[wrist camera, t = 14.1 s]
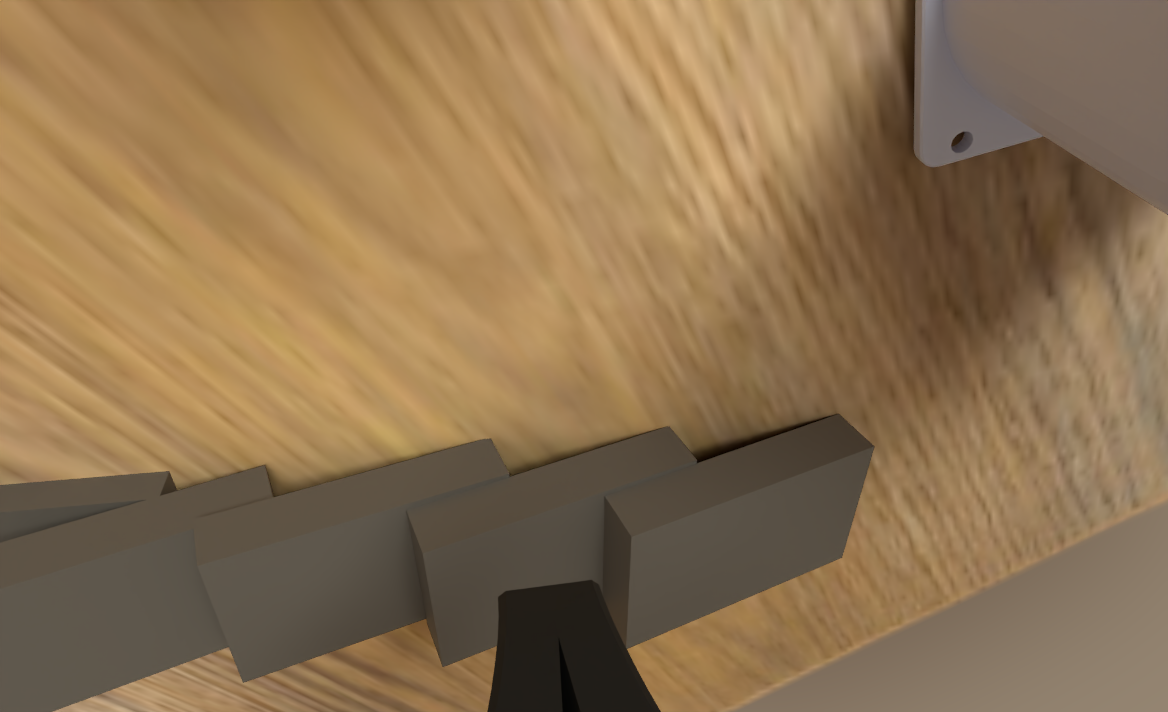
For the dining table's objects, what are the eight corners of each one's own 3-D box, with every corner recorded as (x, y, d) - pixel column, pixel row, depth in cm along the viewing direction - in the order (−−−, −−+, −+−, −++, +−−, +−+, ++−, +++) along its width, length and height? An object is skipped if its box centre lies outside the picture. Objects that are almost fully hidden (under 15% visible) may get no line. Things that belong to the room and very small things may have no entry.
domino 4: (874, 446, 23) (631, 536, 21) (841, 557, 26) (626, 648, 24) (838, 414, 25) (604, 495, 22) (811, 523, 28) (602, 607, 25)
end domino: (159, 499, 22) (-170, 526, 21) (208, 611, 25) (-76, 640, 24) (174, 456, 23) (-134, 481, 22) (220, 568, 26) (-50, 594, 25)
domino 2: (509, 473, 22) (197, 566, 19) (513, 588, 25) (243, 682, 22) (489, 437, 23) (192, 519, 20) (495, 551, 26) (237, 636, 23)
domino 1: (274, 503, 21) (-86, 615, 18) (310, 617, 24) (5, 728, 21) (264, 465, 22) (-76, 564, 20) (300, 577, 26) (9, 679, 23)
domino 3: (697, 460, 23) (422, 553, 20) (683, 572, 26) (442, 666, 23) (668, 425, 24) (405, 509, 21) (658, 537, 27) (427, 623, 24)
